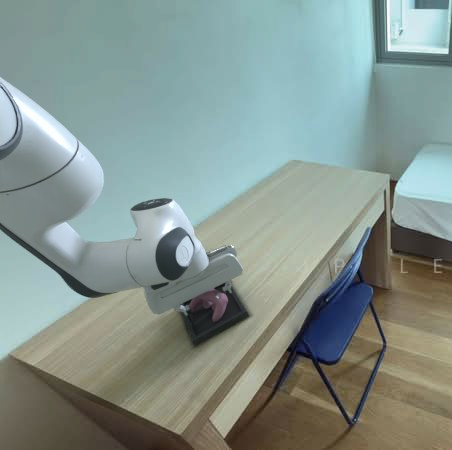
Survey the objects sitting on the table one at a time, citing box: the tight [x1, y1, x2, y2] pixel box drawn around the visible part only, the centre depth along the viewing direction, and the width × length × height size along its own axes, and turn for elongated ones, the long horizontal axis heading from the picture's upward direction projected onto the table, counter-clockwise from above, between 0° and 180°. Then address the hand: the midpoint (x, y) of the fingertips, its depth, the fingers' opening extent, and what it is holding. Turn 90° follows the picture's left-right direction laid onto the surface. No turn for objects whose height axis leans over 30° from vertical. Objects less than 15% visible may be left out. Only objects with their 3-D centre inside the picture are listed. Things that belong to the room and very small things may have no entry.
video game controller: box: [189, 289, 228, 322], centre depth 78 cm, size 10×5×7 cm, turn 69°
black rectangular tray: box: [180, 283, 250, 347], centre depth 80 cm, size 12×16×2 cm
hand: (209, 302), depth 78 cm, fingers open, 8 cm apart
